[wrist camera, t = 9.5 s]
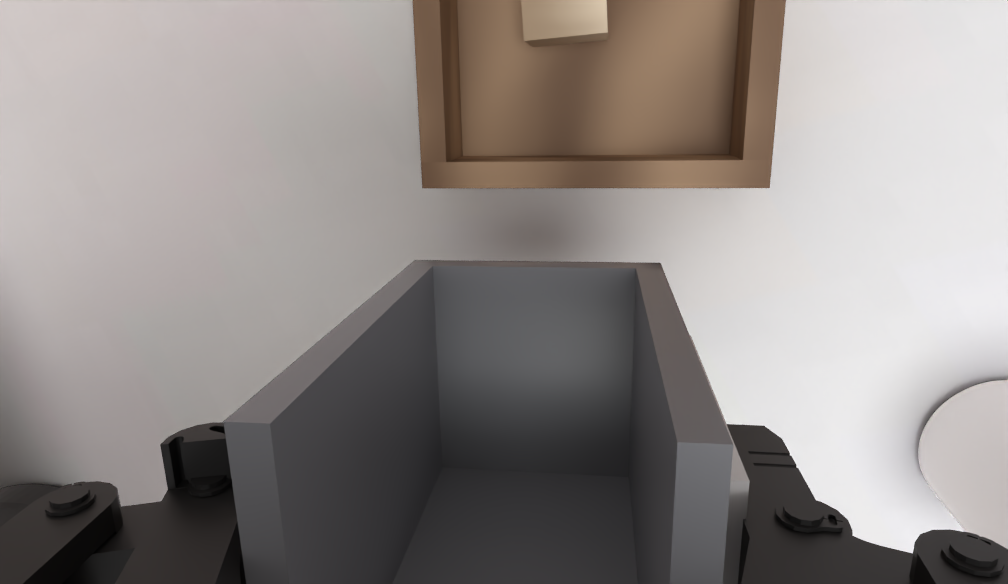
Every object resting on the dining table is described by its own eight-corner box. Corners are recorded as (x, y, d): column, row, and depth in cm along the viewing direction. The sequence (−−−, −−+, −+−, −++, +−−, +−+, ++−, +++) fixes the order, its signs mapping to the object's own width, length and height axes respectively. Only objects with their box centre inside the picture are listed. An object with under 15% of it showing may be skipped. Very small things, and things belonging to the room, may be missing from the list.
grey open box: (426, 474, 18) (276, 797, 10) (414, 259, 17) (223, 421, 8) (650, 487, 18) (701, 851, 9) (660, 262, 16) (733, 444, 7)
